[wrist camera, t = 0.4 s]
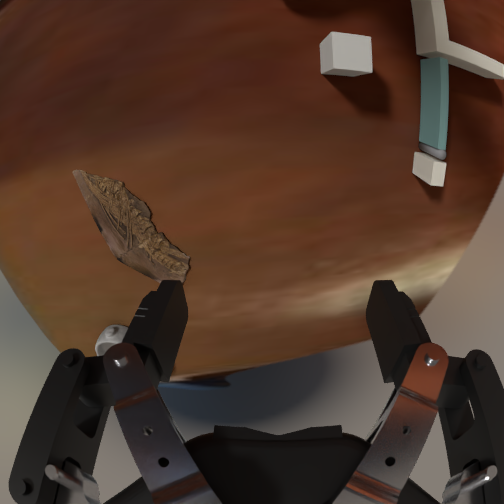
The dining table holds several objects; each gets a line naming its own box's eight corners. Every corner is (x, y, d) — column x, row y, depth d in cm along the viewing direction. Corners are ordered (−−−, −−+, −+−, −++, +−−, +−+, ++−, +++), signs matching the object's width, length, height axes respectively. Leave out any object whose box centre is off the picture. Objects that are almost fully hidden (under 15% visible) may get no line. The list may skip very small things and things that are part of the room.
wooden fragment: (205, 274, 44) (204, 278, 43) (158, 300, 47) (156, 304, 47) (100, 141, 34) (96, 142, 33) (62, 185, 37) (58, 188, 36)
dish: (149, 372, 60) (143, 389, 55) (97, 343, 56) (89, 359, 52) (172, 345, 53) (166, 364, 49) (112, 309, 50) (101, 327, 45)
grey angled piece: (408, -16, 19) (425, -27, 14) (479, 13, 18) (499, 9, 13) (412, 172, 33) (430, 185, 28) (478, 181, 32) (498, 193, 27)
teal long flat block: (420, 59, 25) (441, 56, 20) (432, 63, 24) (454, 61, 20) (418, 149, 31) (438, 159, 26) (430, 151, 31) (450, 161, 26)
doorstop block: (319, 44, 26) (331, 31, 20) (352, 47, 26) (370, 36, 20) (321, 73, 28) (333, 68, 22) (353, 76, 28) (372, 72, 22)
